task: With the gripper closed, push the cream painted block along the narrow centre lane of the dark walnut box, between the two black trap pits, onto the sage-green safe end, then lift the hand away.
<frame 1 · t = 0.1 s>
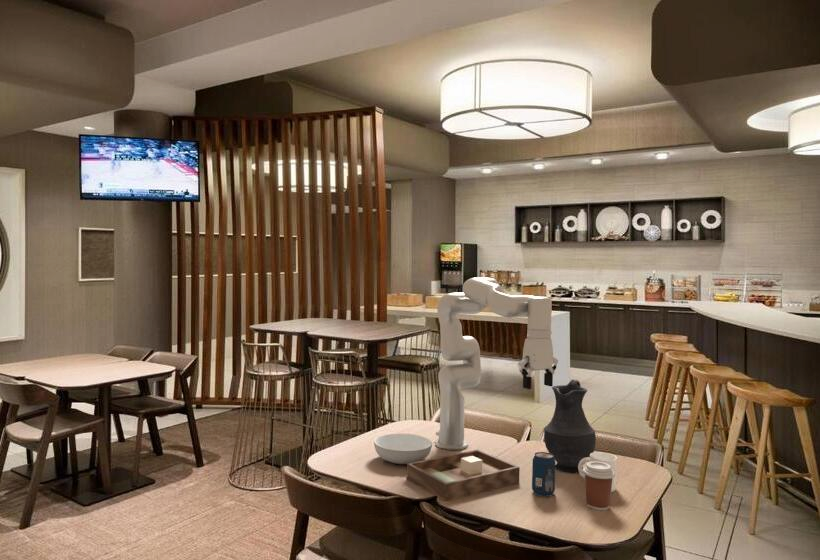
hand: (537, 387, 187), 31 cm above the table, tool pointing down, fingers open, 9 cm apart
soda can: (543, 493, 178), on the table
coffee cup: (597, 506, 169), on the table
trap box: (462, 480, 187), on the table
pitcher: (570, 467, 202), on the table
serving bowl: (402, 460, 207), on the table
block: (471, 471, 189), point 2 cm above the table, touching trap box
mug: (596, 487, 184), on the table
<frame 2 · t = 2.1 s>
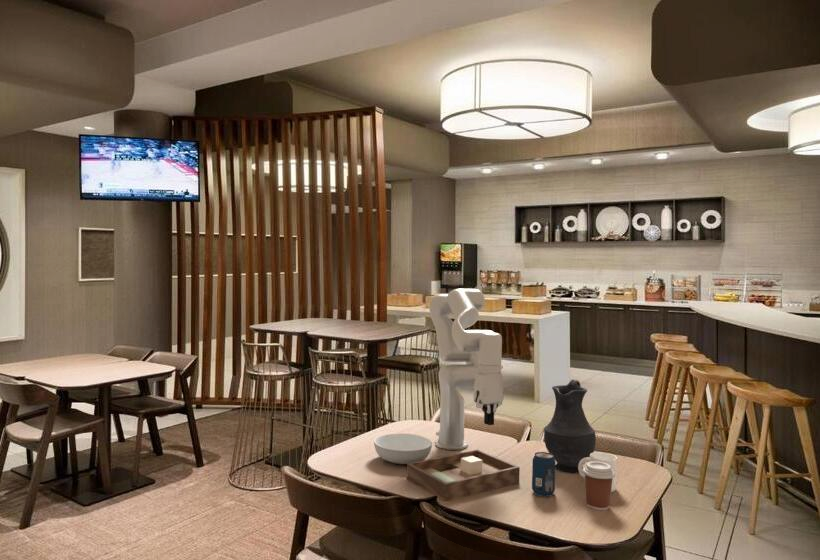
hand: (489, 424, 193), 17 cm above the table, tool pointing down, fingers closed
nothing on the table moved.
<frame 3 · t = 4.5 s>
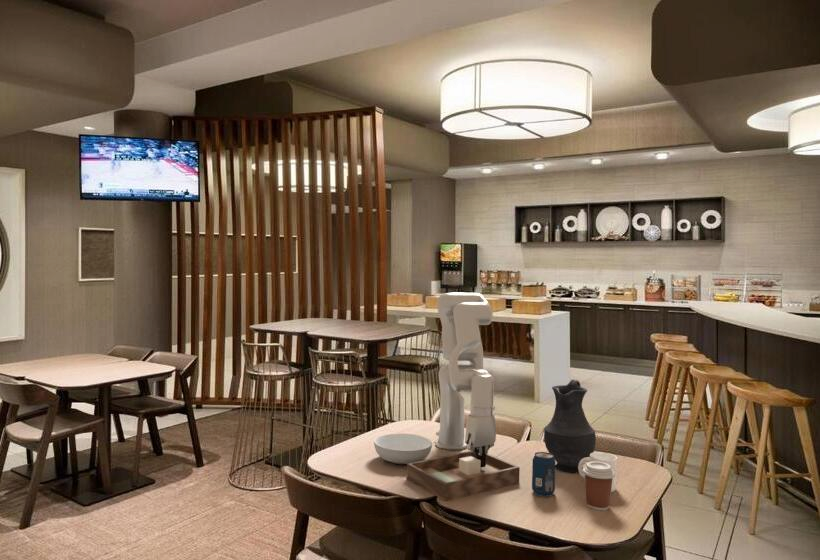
hand: (480, 465, 191), 4 cm above the table, tool pointing down, fingers closed
block: (469, 471, 189), point 3 cm above the table, touching gripper
everything else where it was.
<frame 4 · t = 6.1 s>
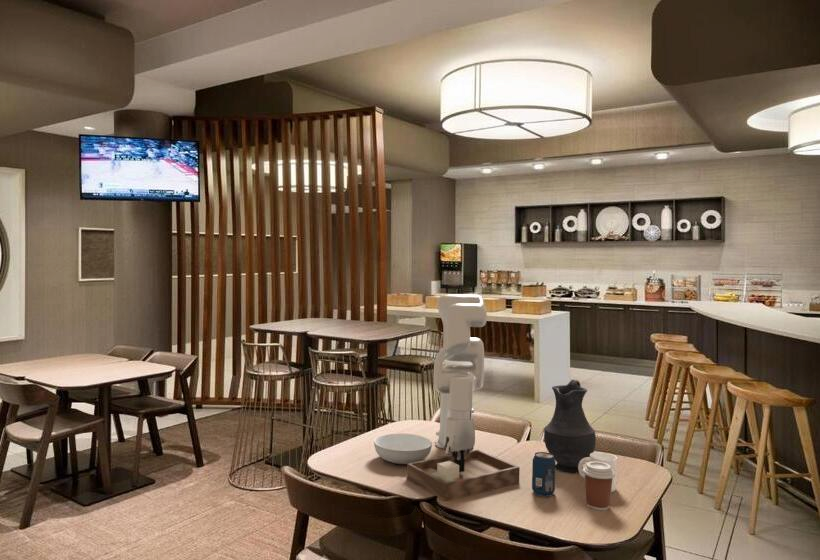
hand: (459, 470, 186), 4 cm above the table, tool pointing down, fingers closed
block: (448, 476, 184), point 3 cm above the table, touching gripper
everything else where it was.
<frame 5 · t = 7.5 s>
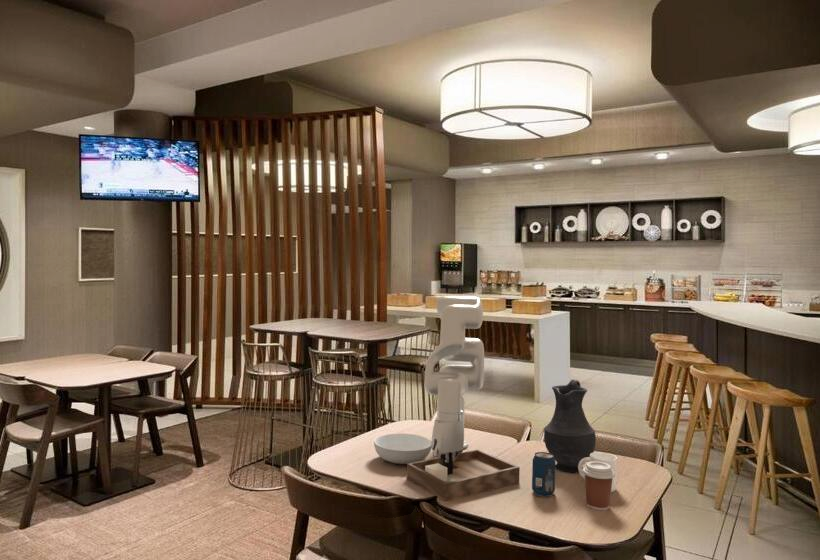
hand: (447, 473, 184), 4 cm above the table, tool pointing down, fingers closed
block: (436, 479, 181), point 2 cm above the table, touching gripper, trap box
everything else where it was.
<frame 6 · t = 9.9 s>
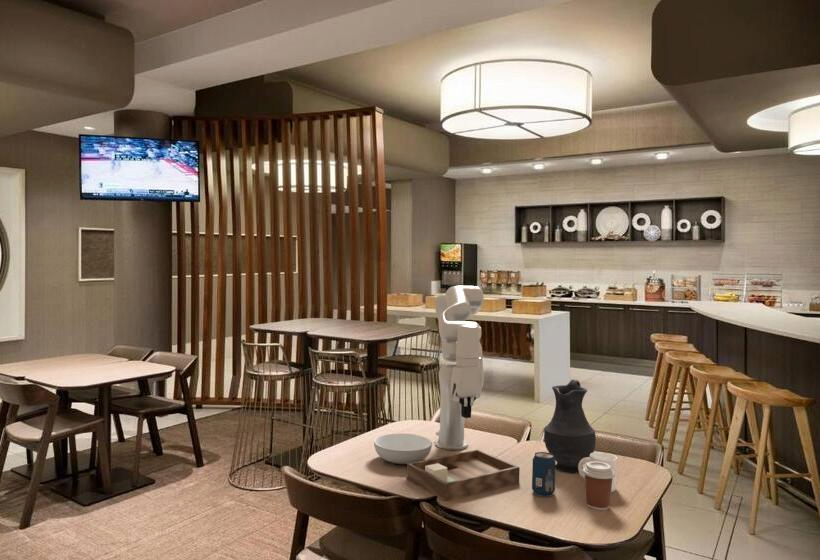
hand: (466, 416, 190), 20 cm above the table, tool pointing down, fingers closed
block: (436, 479, 181), point 2 cm above the table, touching trap box
everything else where it was.
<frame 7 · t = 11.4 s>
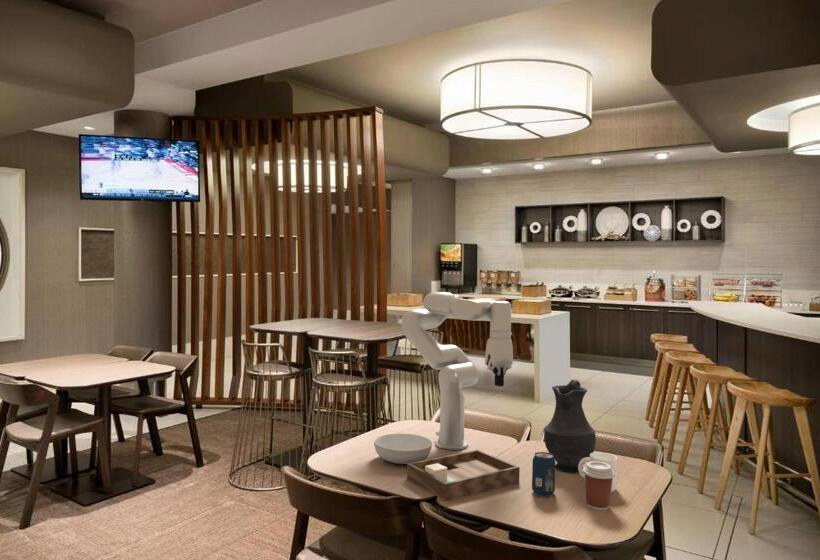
hand: (499, 385, 209), 27 cm above the table, tool pointing down, fingers closed
nothing on the table moved.
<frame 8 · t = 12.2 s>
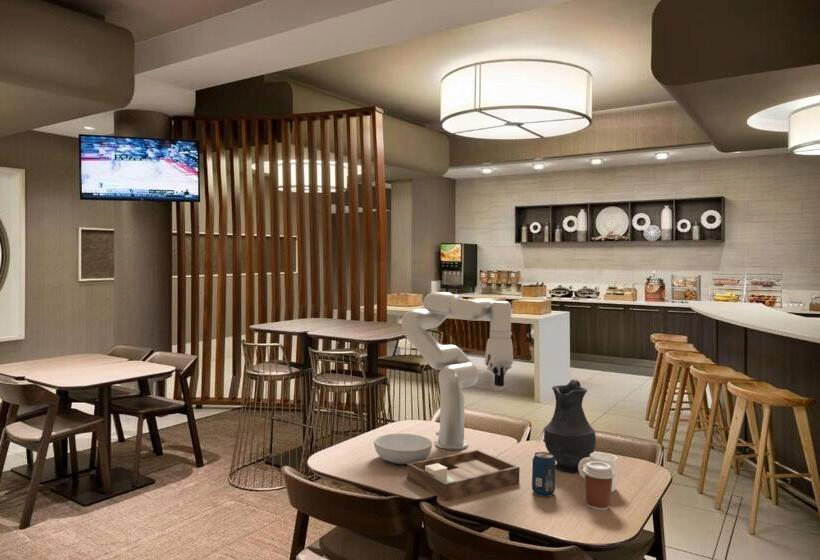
hand: (499, 385, 209), 27 cm above the table, tool pointing down, fingers closed
nothing on the table moved.
at the end: block inside the target area on the trap box (1.1 cm from its centre), point 2.5 cm above the trap box's base; block tilted 0° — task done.
